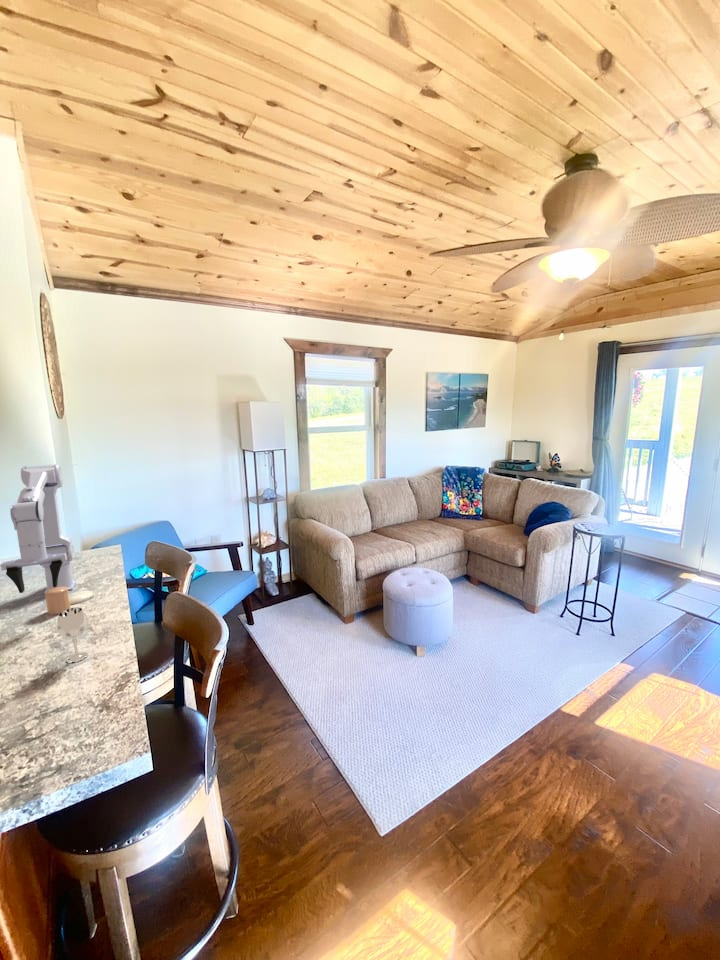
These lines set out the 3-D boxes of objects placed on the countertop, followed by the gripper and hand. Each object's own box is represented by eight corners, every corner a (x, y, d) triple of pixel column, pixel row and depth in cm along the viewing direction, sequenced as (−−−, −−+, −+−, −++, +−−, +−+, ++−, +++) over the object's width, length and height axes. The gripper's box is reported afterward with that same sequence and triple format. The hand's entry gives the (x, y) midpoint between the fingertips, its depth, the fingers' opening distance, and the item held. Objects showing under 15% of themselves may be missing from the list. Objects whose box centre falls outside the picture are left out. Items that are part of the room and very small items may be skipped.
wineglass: (76, 666, 94) (69, 618, 92) (56, 663, 95) (49, 616, 93) (96, 652, 99) (90, 607, 98) (77, 650, 101) (71, 605, 99)
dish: (62, 596, 133) (62, 594, 133) (94, 590, 137) (94, 588, 137) (57, 607, 125) (56, 604, 125) (91, 600, 129) (91, 598, 129)
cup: (50, 608, 124) (47, 588, 123) (71, 604, 127) (68, 585, 126) (46, 616, 119) (43, 595, 118) (68, 611, 122) (65, 591, 121)
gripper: (-6, 551, 106) (2, 599, 108) (60, 543, 113) (67, 588, 115) (2, 544, 112) (10, 590, 114) (65, 536, 119) (71, 579, 121)
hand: (39, 588), depth 115 cm, fingers open, 7 cm apart
